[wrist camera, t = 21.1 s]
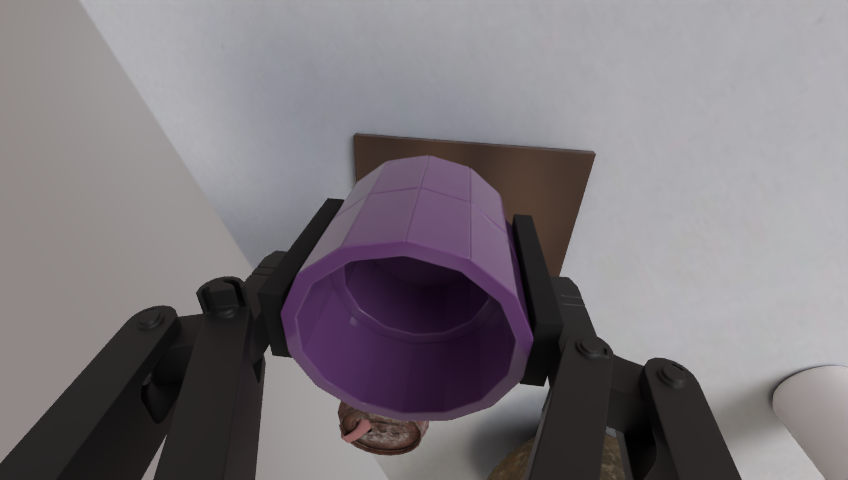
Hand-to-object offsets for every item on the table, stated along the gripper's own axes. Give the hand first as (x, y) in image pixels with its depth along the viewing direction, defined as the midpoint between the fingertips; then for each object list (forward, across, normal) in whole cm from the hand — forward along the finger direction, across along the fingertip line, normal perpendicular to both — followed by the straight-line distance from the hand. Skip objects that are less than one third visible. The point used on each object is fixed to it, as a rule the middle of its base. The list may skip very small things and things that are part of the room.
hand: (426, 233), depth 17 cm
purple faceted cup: (0, 0, 0) cm, 0 cm away
